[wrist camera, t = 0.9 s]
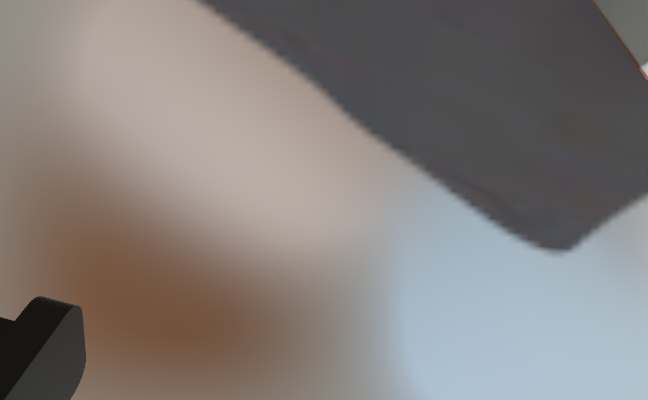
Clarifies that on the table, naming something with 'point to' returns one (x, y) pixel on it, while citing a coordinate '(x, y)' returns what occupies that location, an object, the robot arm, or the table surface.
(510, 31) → the table surface
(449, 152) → the table surface
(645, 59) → the small box
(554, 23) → the table surface
